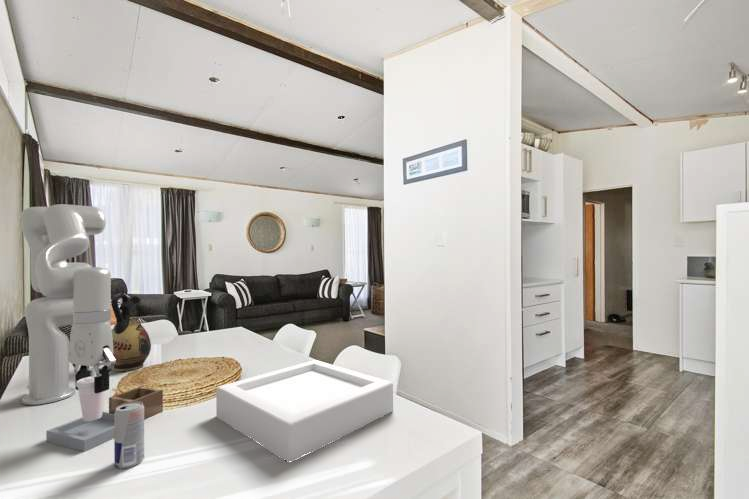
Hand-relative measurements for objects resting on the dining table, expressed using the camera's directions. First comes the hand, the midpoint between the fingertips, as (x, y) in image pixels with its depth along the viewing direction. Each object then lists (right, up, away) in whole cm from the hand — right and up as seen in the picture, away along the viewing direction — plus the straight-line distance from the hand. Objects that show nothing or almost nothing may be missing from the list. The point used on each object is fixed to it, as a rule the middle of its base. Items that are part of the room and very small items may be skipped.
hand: (92, 389), depth 92 cm
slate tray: (0, -11, 0) cm, 11 cm away
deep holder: (+4, -11, +11) cm, 16 cm away
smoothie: (0, -7, 0) cm, 7 cm away
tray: (+51, -12, +11) cm, 54 cm away
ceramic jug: (-28, -13, +54) cm, 62 cm away
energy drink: (+18, -11, -13) cm, 24 cm away
